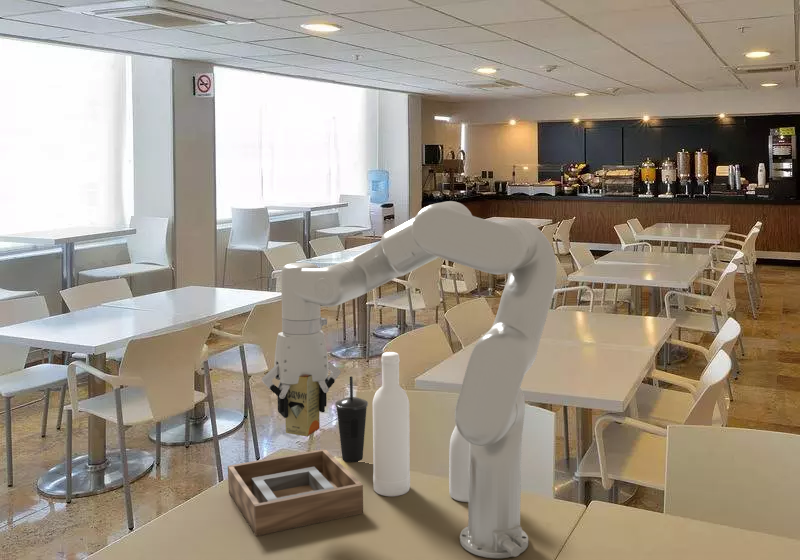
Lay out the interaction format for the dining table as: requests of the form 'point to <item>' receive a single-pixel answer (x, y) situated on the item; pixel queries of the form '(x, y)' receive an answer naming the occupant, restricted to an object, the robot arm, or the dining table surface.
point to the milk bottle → (459, 467)
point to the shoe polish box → (303, 407)
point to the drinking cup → (351, 425)
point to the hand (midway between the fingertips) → (302, 412)
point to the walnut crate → (294, 491)
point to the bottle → (391, 432)
